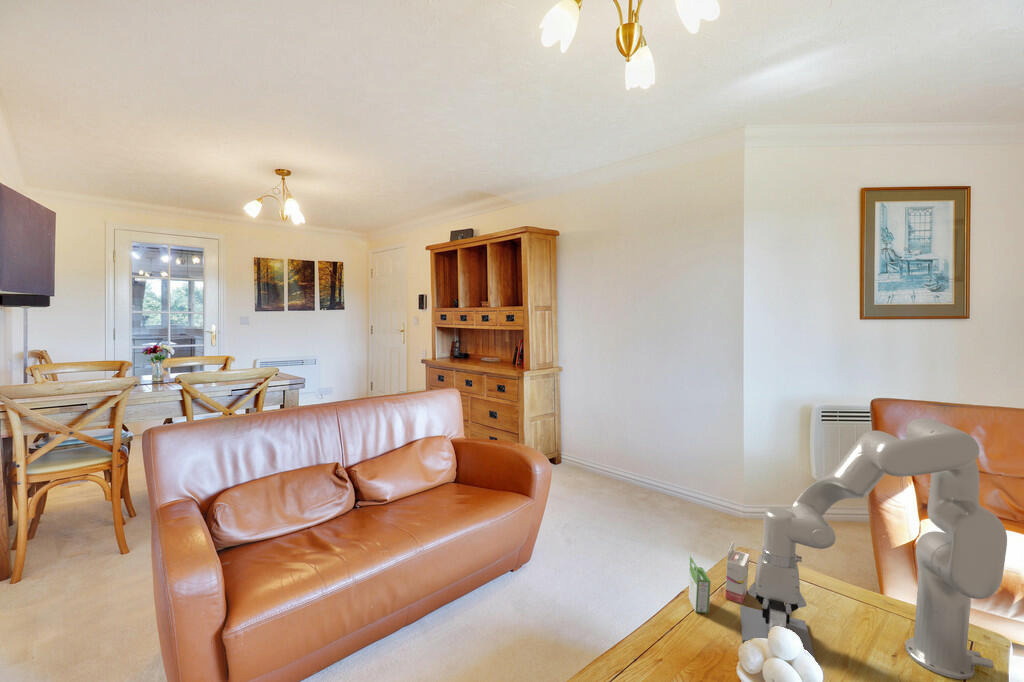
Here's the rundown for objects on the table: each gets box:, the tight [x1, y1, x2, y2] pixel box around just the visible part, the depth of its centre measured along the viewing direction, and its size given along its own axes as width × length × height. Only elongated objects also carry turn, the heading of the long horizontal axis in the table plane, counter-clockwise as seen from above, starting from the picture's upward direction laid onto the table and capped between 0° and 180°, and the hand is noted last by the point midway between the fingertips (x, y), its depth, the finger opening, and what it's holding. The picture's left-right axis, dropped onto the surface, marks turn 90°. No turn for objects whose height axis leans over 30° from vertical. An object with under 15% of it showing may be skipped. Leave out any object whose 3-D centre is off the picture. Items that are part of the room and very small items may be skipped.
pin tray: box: [739, 604, 816, 659], centre depth 124 cm, size 16×15×5 cm
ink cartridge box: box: [724, 541, 750, 605], centre depth 140 cm, size 9×5×15 cm, turn 144°
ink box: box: [688, 555, 711, 614], centre depth 135 cm, size 7×4×13 cm, turn 175°
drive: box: [768, 599, 786, 631], centre depth 124 cm, size 4×10×7 cm, turn 156°
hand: (775, 622), depth 124 cm, fingers closed on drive, 3 cm apart
